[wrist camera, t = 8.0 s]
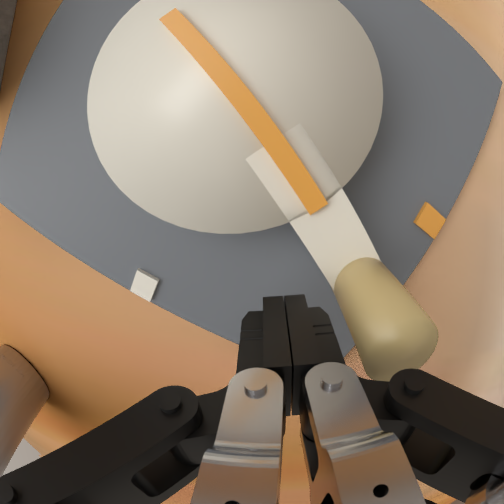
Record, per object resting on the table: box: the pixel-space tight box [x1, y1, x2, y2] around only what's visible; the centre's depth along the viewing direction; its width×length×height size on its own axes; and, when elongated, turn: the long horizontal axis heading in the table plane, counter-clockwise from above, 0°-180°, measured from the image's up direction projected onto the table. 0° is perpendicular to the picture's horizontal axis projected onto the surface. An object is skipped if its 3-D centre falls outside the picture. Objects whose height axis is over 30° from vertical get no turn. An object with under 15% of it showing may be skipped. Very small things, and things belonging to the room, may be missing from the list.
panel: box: [0, 0, 502, 358], centre depth 12 cm, size 25×29×2 cm
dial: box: [87, 0, 438, 381], centre depth 8 cm, size 17×12×7 cm
